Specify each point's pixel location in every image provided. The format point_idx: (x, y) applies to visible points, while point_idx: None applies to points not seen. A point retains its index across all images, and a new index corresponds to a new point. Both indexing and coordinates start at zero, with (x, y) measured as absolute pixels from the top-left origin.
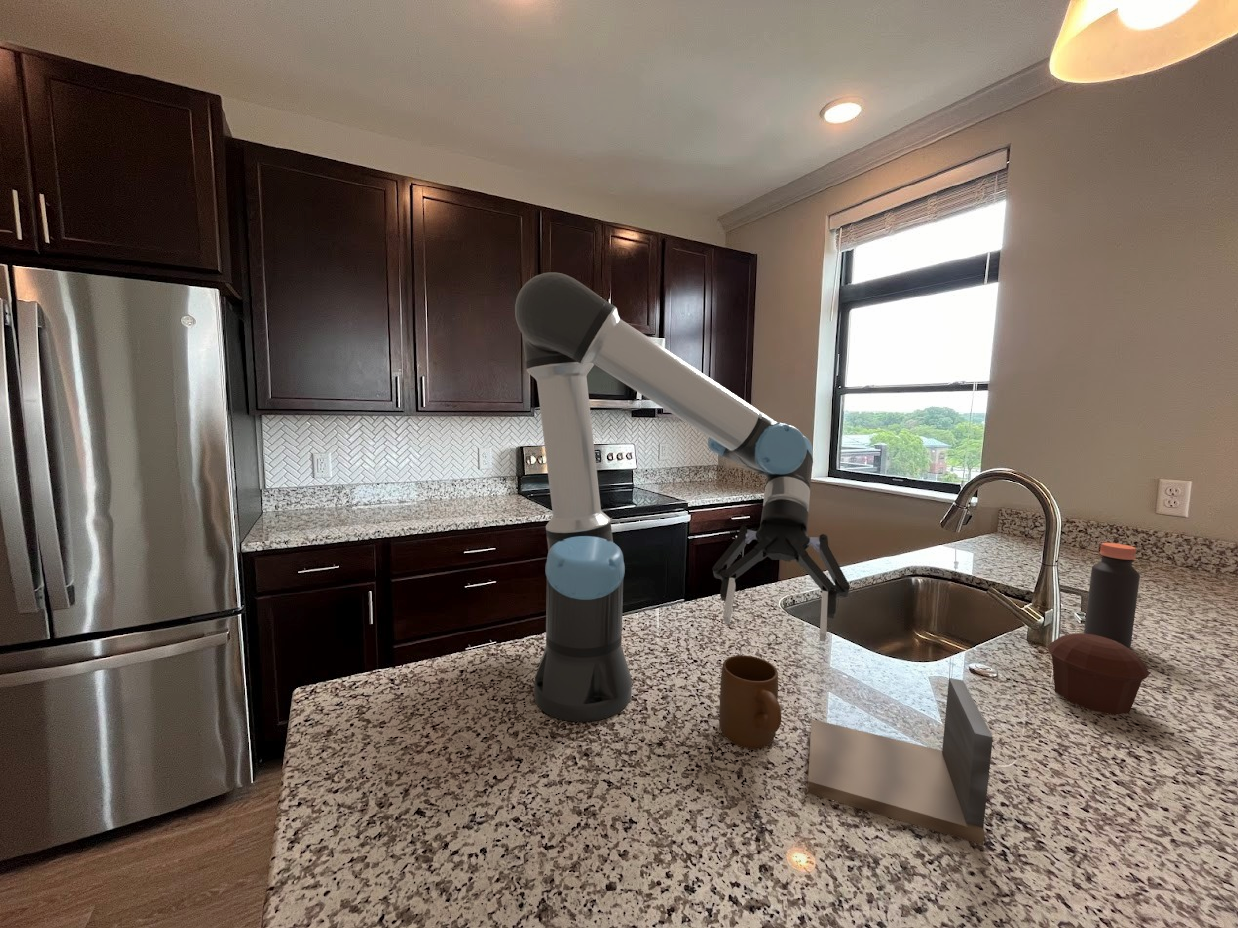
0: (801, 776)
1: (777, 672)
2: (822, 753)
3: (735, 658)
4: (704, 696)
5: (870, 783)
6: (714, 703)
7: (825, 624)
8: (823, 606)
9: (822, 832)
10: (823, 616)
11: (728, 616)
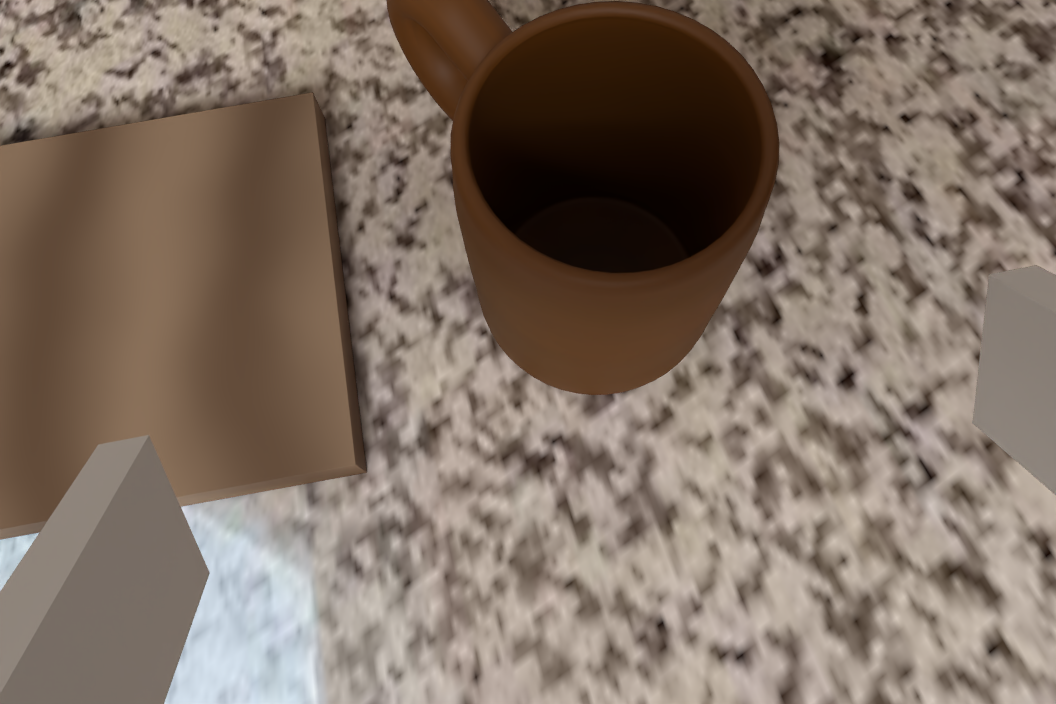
0: (354, 178)
1: (459, 182)
2: (284, 255)
3: (741, 215)
4: (867, 437)
5: (120, 192)
6: (799, 410)
7: (71, 496)
8: (6, 647)
9: (267, 9)
10: (60, 551)
11: (996, 297)
